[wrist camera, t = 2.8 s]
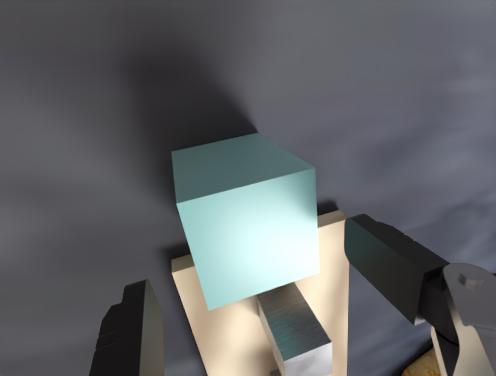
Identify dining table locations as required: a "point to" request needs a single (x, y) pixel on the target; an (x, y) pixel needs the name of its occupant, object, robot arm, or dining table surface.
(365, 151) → the dining table surface
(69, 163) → the dining table surface
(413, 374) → the croissant
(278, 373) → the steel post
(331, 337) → the birch board
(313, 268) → the light blue cube
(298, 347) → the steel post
